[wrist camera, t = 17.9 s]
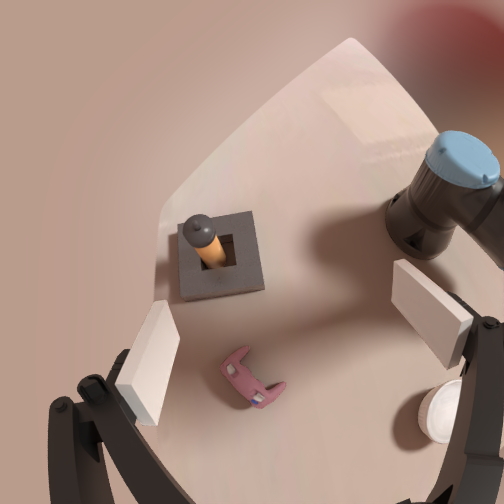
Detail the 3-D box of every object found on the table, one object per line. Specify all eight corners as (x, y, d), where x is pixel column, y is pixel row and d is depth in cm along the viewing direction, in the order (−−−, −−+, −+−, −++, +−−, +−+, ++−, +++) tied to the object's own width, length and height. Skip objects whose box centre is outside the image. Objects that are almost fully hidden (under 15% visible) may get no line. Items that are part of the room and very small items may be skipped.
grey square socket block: (253, 219, 54) (251, 210, 52) (264, 289, 49) (264, 283, 46) (182, 231, 55) (177, 224, 52) (185, 301, 49) (180, 296, 46)
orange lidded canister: (226, 245, 53) (208, 205, 40) (229, 268, 51) (211, 233, 38) (202, 250, 53) (178, 212, 40) (204, 273, 51) (179, 240, 38)
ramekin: (444, 368, 39) (460, 366, 34) (468, 408, 35) (484, 409, 30) (401, 410, 37) (415, 413, 33) (428, 450, 33) (442, 455, 28)
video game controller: (231, 359, 46) (209, 370, 39) (247, 341, 45) (226, 351, 38) (272, 400, 42) (255, 418, 36) (290, 384, 41) (276, 401, 35)
